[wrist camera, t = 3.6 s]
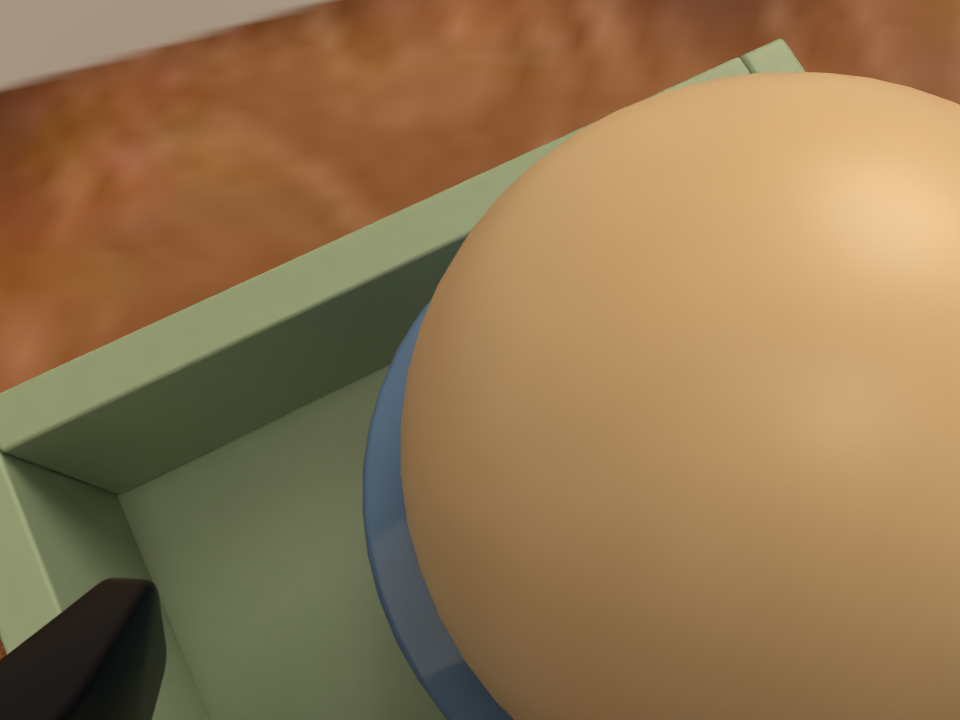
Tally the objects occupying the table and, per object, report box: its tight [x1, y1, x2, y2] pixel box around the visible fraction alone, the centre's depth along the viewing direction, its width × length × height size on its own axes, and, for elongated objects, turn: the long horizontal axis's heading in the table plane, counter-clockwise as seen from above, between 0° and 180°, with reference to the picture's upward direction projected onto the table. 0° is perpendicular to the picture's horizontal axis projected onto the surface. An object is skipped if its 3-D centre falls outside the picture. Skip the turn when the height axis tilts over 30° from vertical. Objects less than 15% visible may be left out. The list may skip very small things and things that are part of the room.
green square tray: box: [0, 39, 805, 720], centre depth 14 cm, size 14×13×6 cm
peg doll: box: [362, 72, 960, 720], centre depth 10 cm, size 5×5×13 cm
